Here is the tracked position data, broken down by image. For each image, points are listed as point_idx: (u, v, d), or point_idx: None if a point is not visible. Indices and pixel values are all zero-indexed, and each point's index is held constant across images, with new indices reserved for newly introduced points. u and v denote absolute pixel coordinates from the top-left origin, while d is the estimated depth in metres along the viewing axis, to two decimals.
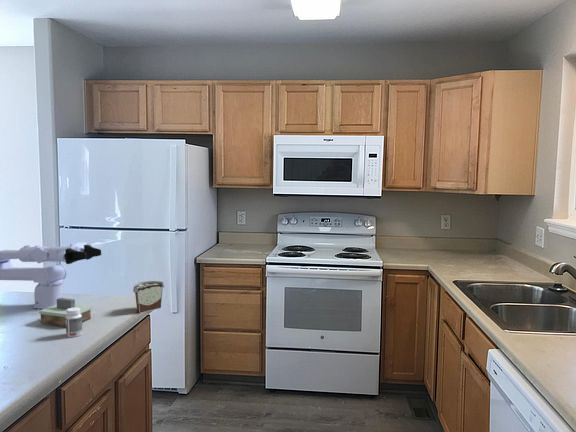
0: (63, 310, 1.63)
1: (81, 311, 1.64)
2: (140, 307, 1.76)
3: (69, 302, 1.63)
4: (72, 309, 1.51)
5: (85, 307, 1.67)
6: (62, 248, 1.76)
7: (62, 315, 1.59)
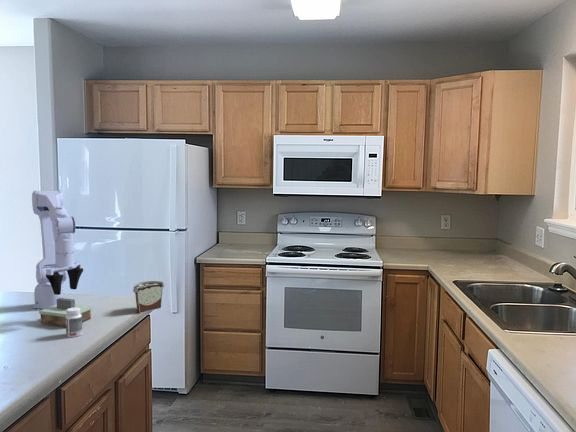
0: (63, 310, 1.63)
1: (81, 311, 1.64)
2: (140, 307, 1.76)
3: (69, 302, 1.63)
4: (72, 309, 1.51)
5: (85, 307, 1.67)
6: (66, 257, 1.61)
7: (62, 315, 1.59)
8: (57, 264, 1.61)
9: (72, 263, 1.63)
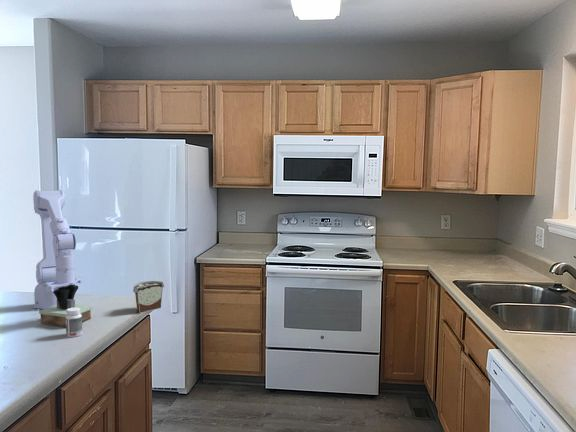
0: (63, 310, 1.63)
1: (81, 311, 1.64)
2: (140, 307, 1.76)
3: (69, 302, 1.63)
4: (72, 309, 1.51)
5: (85, 307, 1.67)
6: (67, 274, 1.62)
7: (62, 315, 1.59)
8: (57, 280, 1.62)
9: (72, 279, 1.64)
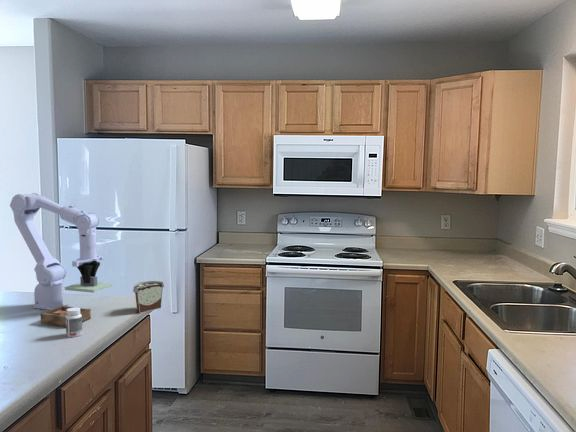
0: (86, 286, 1.76)
1: (103, 287, 1.77)
2: (140, 307, 1.76)
3: (92, 279, 1.77)
4: (72, 309, 1.51)
5: (106, 284, 1.80)
6: (90, 250, 1.75)
7: (86, 290, 1.73)
8: (81, 257, 1.75)
9: (95, 256, 1.77)
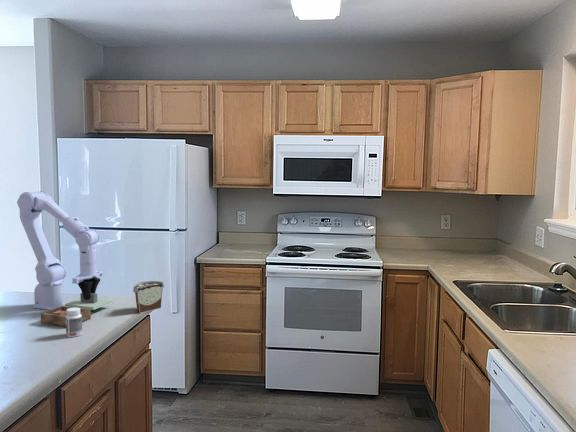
0: (87, 303, 1.77)
1: (103, 304, 1.78)
2: (140, 307, 1.76)
3: (92, 296, 1.77)
4: (72, 309, 1.51)
5: (106, 300, 1.81)
6: (90, 267, 1.76)
7: (86, 308, 1.73)
8: (82, 273, 1.76)
9: (95, 272, 1.78)
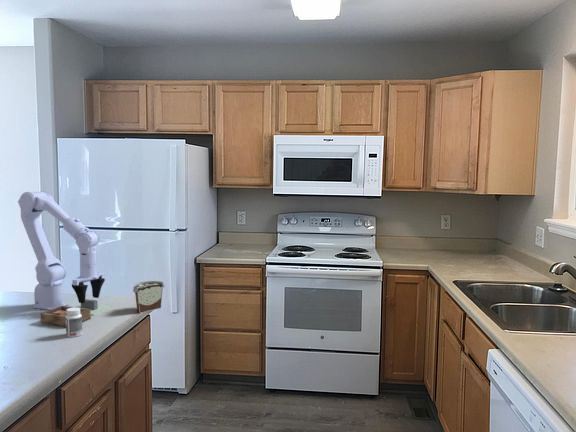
0: None
1: None
2: (140, 307, 1.76)
3: (92, 303, 1.78)
4: (72, 309, 1.51)
5: (107, 307, 1.81)
6: (90, 269, 1.76)
7: None
8: (82, 275, 1.76)
9: (95, 274, 1.78)
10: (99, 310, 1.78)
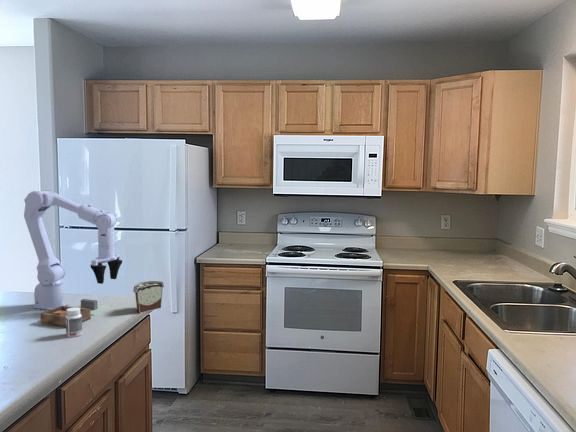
0: None
1: None
2: (140, 307, 1.76)
3: (92, 303, 1.78)
4: (72, 309, 1.51)
5: (107, 307, 1.81)
6: (109, 250, 1.78)
7: None
8: (100, 256, 1.77)
9: (113, 255, 1.80)
10: (99, 310, 1.77)
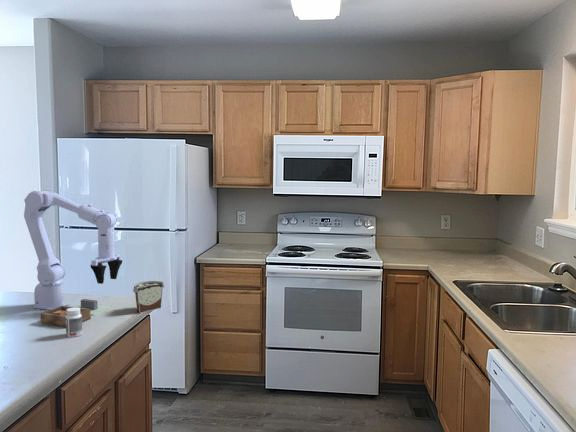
0: None
1: None
2: (140, 307, 1.76)
3: (92, 303, 1.78)
4: (72, 309, 1.51)
5: (107, 307, 1.81)
6: (109, 250, 1.78)
7: None
8: (100, 256, 1.77)
9: (113, 255, 1.80)
10: (99, 310, 1.77)
